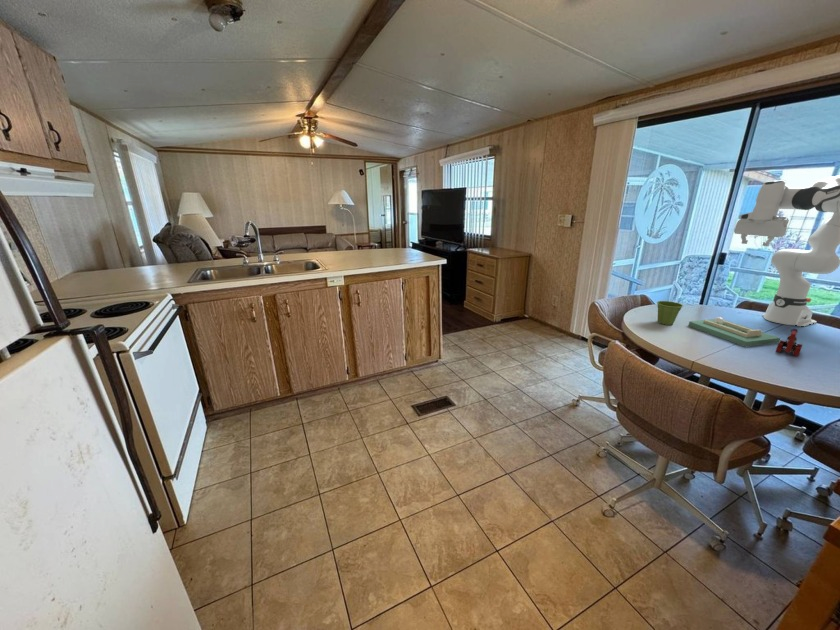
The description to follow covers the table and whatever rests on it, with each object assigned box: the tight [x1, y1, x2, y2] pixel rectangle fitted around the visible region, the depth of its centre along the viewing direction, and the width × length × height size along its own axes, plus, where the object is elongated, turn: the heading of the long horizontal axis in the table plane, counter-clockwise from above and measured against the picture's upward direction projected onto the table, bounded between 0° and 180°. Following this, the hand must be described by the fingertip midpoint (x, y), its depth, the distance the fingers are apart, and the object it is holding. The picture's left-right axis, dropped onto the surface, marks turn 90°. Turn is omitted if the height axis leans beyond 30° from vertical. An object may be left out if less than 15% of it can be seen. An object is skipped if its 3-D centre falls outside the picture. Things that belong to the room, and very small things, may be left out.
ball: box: [713, 316, 725, 325], centre depth 174 cm, size 4×4×4 cm
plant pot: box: [656, 300, 684, 326], centre depth 183 cm, size 12×12×11 cm
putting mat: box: [687, 318, 781, 348], centre depth 168 cm, size 28×20×6 cm
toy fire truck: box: [775, 328, 803, 357], centre depth 147 cm, size 7×12×10 cm, turn 129°
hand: (754, 244), depth 166 cm, fingers open, 8 cm apart
